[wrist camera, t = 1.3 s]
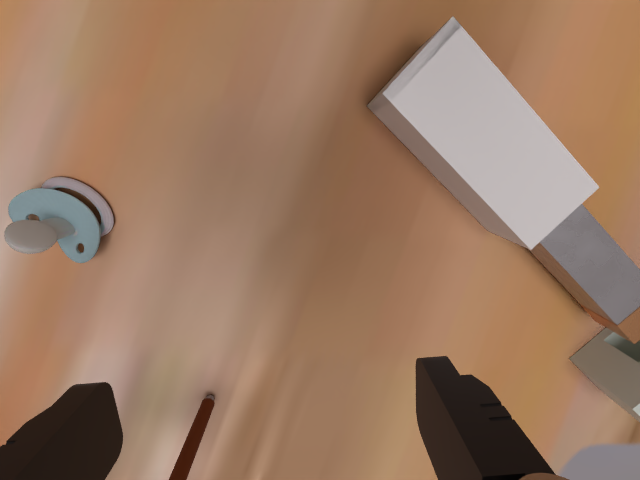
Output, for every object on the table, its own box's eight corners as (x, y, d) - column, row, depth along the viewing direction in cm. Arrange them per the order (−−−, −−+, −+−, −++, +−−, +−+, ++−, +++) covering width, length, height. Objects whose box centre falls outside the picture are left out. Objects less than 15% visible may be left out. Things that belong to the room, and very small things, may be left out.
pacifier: (55, 160, 31) (21, 217, 31) (-7, 160, 24) (-47, 231, 25) (132, 211, 32) (97, 265, 33) (91, 223, 26) (50, 289, 26)
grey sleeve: (421, 46, 29) (452, 16, 23) (540, 180, 32) (599, 187, 25) (366, 105, 30) (382, 93, 24) (487, 230, 33) (530, 250, 26)
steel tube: (441, 78, 28) (462, 66, 24) (632, 290, 33) (676, 309, 29) (403, 118, 29) (418, 113, 25) (596, 321, 34) (634, 344, 30)
